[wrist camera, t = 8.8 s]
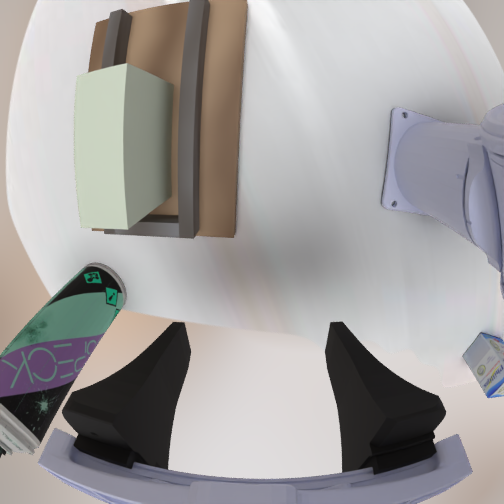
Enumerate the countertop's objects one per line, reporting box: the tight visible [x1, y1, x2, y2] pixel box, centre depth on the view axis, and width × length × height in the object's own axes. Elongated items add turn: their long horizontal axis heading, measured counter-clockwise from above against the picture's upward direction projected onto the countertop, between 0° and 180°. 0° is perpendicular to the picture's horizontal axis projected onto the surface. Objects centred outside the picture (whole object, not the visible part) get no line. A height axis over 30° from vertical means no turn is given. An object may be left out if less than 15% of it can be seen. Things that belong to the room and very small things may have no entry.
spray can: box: [0, 263, 126, 457], centre depth 14 cm, size 6×6×20 cm
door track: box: [88, 0, 248, 239], centre depth 16 cm, size 12×18×3 cm, turn 177°
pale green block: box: [74, 63, 174, 230], centre depth 14 cm, size 3×8×7 cm, turn 177°
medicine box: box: [463, 333, 504, 398], centre depth 22 cm, size 8×4×9 cm, turn 71°
